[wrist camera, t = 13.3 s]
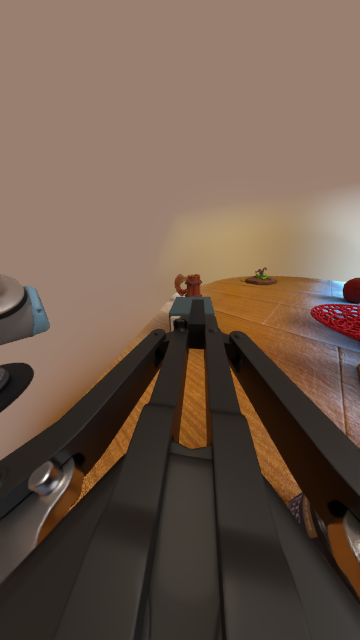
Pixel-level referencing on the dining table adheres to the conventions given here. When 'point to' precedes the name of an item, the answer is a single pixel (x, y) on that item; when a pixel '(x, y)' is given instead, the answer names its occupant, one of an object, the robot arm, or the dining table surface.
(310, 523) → the pill bottle
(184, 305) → the cabinet
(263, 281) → the plant
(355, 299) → the apple
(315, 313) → the bowl
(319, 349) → the dining table surface
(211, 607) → the robot arm
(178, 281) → the mug
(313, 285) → the dining table surface
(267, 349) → the dining table surface
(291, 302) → the dining table surface
